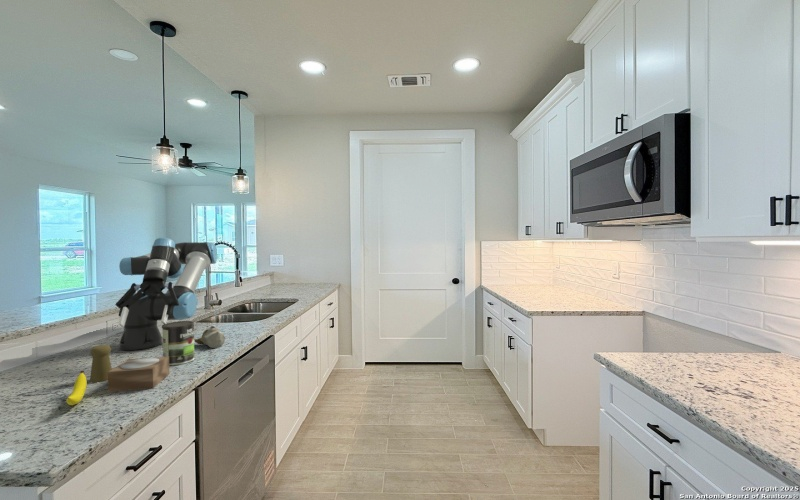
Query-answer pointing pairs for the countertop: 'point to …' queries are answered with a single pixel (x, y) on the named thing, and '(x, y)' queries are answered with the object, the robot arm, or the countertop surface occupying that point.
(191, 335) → the coffee can
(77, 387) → the banana
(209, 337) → the ceramic sculpture
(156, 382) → the walnut plinth
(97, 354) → the cork
